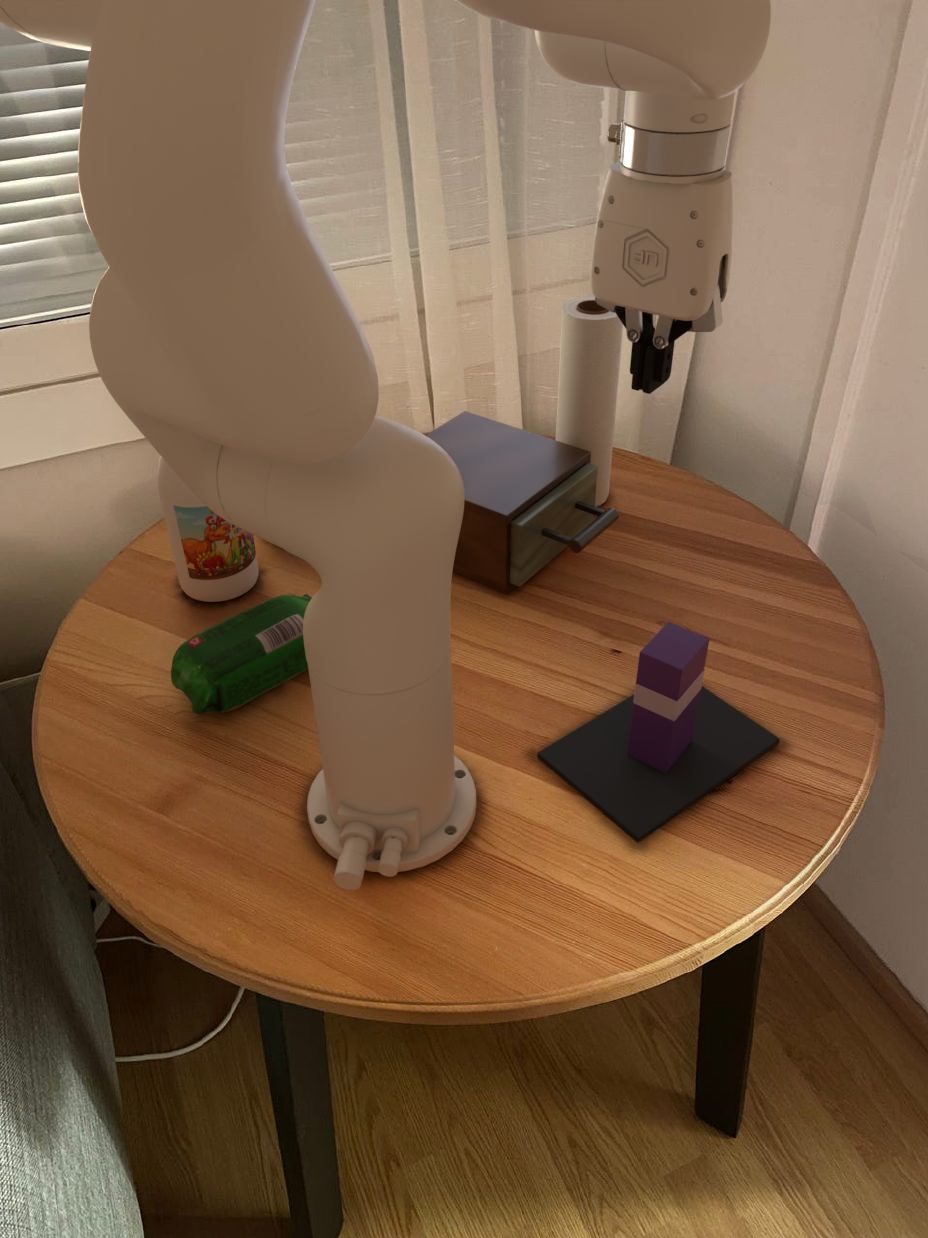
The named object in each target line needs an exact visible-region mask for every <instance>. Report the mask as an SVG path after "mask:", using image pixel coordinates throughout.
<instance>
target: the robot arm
mask: <svg viewBox="0 0 928 1238" xmlns="http://www.w3.org/2000/svg"><path fill="white" fill-rule="evenodd" d="M453 2H455V3H456V4H458V5H461V6H462V7H463V8H465V9H467V11H470V12H472V13H475V14H477V15H481V16H482V17H485V18H488V19H493V20H496V21H499V22H502V23H506V24H509V25H512V26H514V27H519V28H523V29H527V30H532V31H534V38H535V42H536V46H537V49H538V51H539V53H540V56H541V57H542V59H543V61H544V63H545V64H546V65H547V66H548V68H549V69H550V70H552V72H553V73H554V74H556V75H558V76H559V77H561V78H563V79H564V80H565V81H568V82H570V83H574V84H578V85H581V86H586V87H591V88H592V87H593V88H600V89H608V90H617V91H625V97H624V110H623V119H621V122H620V123H611V124H610V126H609V127H608V130H607V141H608V143H609V144H616V146H618V148H619V149H618V150H619V151H618V159H619V158H620V161H618V162H615V163H612V164H610V165H609V168H608V170H607V171H608V172H607V175H606V178H605V182H604V185H603V190H602V194H601V197H600V202H599V207H598V211H597V216H596V222H595V228H594V235H593V241H592V250H591V257H590V268H589V290H590V293H591V294H593V295H594V296H595V301H596V303H597V304H598V305H600V306H602V307H603V308H605V309H607V310H609V311H611V312H613V313H614V312H615V313H616V314H617V316H618V318H619V319H620V321H621V322H622V324H623V328H625V329H626V338H627V340H628V341H629V342H631V350H630V351H631V352H630V364H629V374H630V375H631V376H632V377H631V390H634V391H638V392H639V391H642V392H643V394H648V395H651V394H653V392H655V391H656V390H657V389H659V388H660V387H661V386H663V385H664V384H665V383H666V382H668V380H669V379H670V377H671V375H672V374H671V373H672V367H673V361H674V360H673V359H674V351H675V341H676V340H678V339H680V338H681V337H682V336H683V335H685V334H686V333H687V332H688V333H690V332H691V333H711V332H713V331H715V330H716V329H717V328H719V327H720V326H722V324H723V312H722V302H723V301H725V299H726V296H727V292H728V287H729V283H730V275H731V267H732V258H733V257H732V255H733V245H734V224H735V223H734V222H735V218H734V217H735V216H734V215H735V214H734V213H735V211H734V210H735V207H734V206H735V205H734V203H735V202H734V186H733V185H734V184H733V177H732V172H731V171H729V170H726V169H725V168H726V161H727V154H728V146H729V140H730V139H729V138H730V133H731V122H732V115H733V108H734V100H735V95H736V94H735V93H736V92H737V91H738V90H739V89H740V88H742V87H743V86H744V85H745V84H746V82H748V81H749V79H751V77H752V75H753V74H754V72H755V71H756V69H757V67H758V66H759V64H760V62H761V59H762V57H763V55H764V53H765V49H766V47H767V44H768V39H769V36H770V29H771V15H772V12H771V11H772V9H771V8H772V7H771V0H453ZM315 5H316V0H0V23H2V24H3V25H4V26H6V27H7V28H10V29H11V30H13V31H15V32H17V33H19V34H21V35H23V36H25V37H27V38H29V39H31V40H34V41H37V42H38V41H39V42H41V43H45V44H49V45H52V46H55V47H61V48H67V49H75V50H82V51H89V56H88V63H87V69H86V77H85V78H86V79H85V87H84V93H83V101H82V108H81V115H80V116H81V117H80V125H79V134H78V135H79V136H78V148H77V149H78V150H77V151H78V152H77V183H78V192H79V199H80V203H81V207H82V211H83V214H84V217H85V220H86V223H87V226H88V229H89V230H90V232H91V234H92V237H93V239H94V241H95V243H96V245H97V247H98V249H99V251H100V254H101V255H102V256H103V259H104V260H105V262H106V264H107V265H108V267H107V268H106V270H105V271H104V273H103V275H102V277H101V278H100V280H99V281H98V283H97V286H96V288H95V291H94V293H93V296H92V300H91V304H90V310H89V311H90V312H89V318H88V319H89V320H88V330H89V331H88V332H89V341H90V348H91V353H92V356H93V361H94V363H95V366H96V369H97V371H98V375H99V376H100V379H101V381H102V383H103V385H104V386H105V388H106V389H107V391H108V393H109V394H110V396H111V397H112V398H113V400H114V401H115V403H116V404H117V405H118V407H119V408H120V409H121V410H122V412H123V413H124V415H126V416H127V418H128V419H129V420H130V421H131V423H132V424H133V425H134V426H135V427H136V428H137V430H138V431H139V432H140V433H141V434H142V436H143V437H144V438H145V439H146V441H148V443H149V444H150V445H151V446H152V448H153V449H154V450H155V451H156V452H157V453H158V454H159V455H160V456H162V458H163V459H164V460H165V461H166V462H167V464H168V465H169V466H170V467H171V468H172V469H173V470H174V472H175V473H176V474H177V475H178V476H179V477H180V479H181V480H182V481H183V482H184V483H185V484H186V485H187V487H188V488H189V489H190V490H191V491H192V492H193V493H194V494H195V495H196V496H197V497H198V498H199V499H200V500H201V501H202V502H203V503H204V504H205V505H206V506H207V507H208V508H209V509H210V510H212V511H213V512H214V513H216V514H217V515H218V516H220V517H221V518H223V519H224V520H226V521H228V522H230V523H231V524H233V525H235V526H237V527H239V528H241V529H243V530H245V531H247V532H249V533H251V534H253V536H255V537H258V538H259V539H261V540H263V541H266V542H267V543H270V544H272V545H274V546H277V547H278V548H281V549H283V550H284V551H286V552H287V553H289V554H291V555H293V556H295V557H296V558H300V559H302V560H303V561H305V562H307V564H309V565H311V566H312V567H313V569H314V570H316V572H317V573H318V575H319V577H320V580H321V581H320V588H319V589H318V590H317V591H316V592H315V594H314V595H313V596H311V597H312V599H311V600H310V602H309V604H308V606H307V608H306V611H305V615H304V621H303V639H304V647H305V654H306V660H307V663H308V669H307V670H308V674H309V675H308V676H309V682H310V689H311V695H312V703H313V711H314V716H315V725H316V730H317V737H318V738H317V739H318V745H319V750H320V758H321V765H322V768H321V769H320V771H318V773H317V775H316V776H315V778H314V779H313V781H312V783H311V785H310V787H309V790H308V794H307V800H306V801H307V803H306V812H307V818H308V824H309V826H310V829H311V833H312V835H313V836H314V839H315V840H316V842H317V843H318V845H319V846H320V847H321V848H322V849H323V850H324V851H325V852H326V853H327V854H328V855H329V856H331V857H332V858H334V859H336V860H337V863H336V867H335V871H334V873H333V883H334V884H335V885H336V886H337V887H338V888H340V889H342V890H344V891H350V892H351V891H356V890H358V889H360V888H361V887H362V883H363V879H364V874H365V871H367V872H371V873H379V874H380V875H382V876H383V877H387V878H391V877H395V876H397V875H398V873H399V872H400V873H401V872H409V871H411V870H415V869H419V868H423V867H426V866H427V865H430V864H432V863H434V862H437V861H439V860H440V859H442V858H443V857H445V856H446V855H448V854H449V853H451V852H452V851H453V850H455V848H456V847H457V846H459V844H461V843H462V842H463V840H464V839H465V837H466V836H467V834H468V833H469V832H470V830H471V827H472V826H473V823H474V821H475V818H476V812H477V789H476V785H475V781H474V778H473V776H472V775H471V772H470V770H469V769H468V768H467V766H466V765H465V764H464V763H463V761H462V760H461V759H460V758H459V757H457V756H456V755H455V735H454V734H455V733H454V731H455V729H454V703H453V702H454V701H453V698H454V697H453V696H454V695H453V664H452V663H453V662H452V636H451V635H452V634H451V633H452V632H451V631H452V629H451V597H452V596H451V595H452V594H451V593H452V578H453V564H454V558H455V552H456V548H457V543H458V538H459V533H460V529H461V524H462V518H463V512H464V499H465V493H464V485H463V480H462V477H461V474H460V472H459V470H458V468H457V466H456V464H455V463H454V461H453V460H452V458H451V457H450V456H449V455H448V453H447V452H446V451H445V450H444V449H443V448H442V447H441V446H439V445H438V444H437V443H436V442H434V441H433V440H432V439H430V438H429V437H427V436H425V435H426V434H423V433H422V432H420V431H418V430H417V429H414V428H413V427H410V426H408V425H406V424H403V423H401V422H399V421H396V420H393V419H390V418H388V417H386V416H382V415H379V414H377V410H378V405H379V396H380V395H379V389H380V388H379V387H380V386H379V376H378V371H377V366H376V362H375V357H374V355H373V352H372V350H371V347H370V344H369V342H368V339H367V337H366V334H365V332H364V330H363V328H362V326H361V323H360V322H359V320H358V317H357V315H356V314H355V312H354V310H353V308H352V305H351V304H350V301H349V300H348V298H347V296H346V294H345V292H344V290H343V288H342V286H341V284H340V282H339V280H338V278H337V276H336V274H335V272H334V270H333V268H332V267H331V265H330V262H329V261H328V259H327V257H326V254H325V252H324V250H323V249H322V247H321V245H320V242H319V241H318V239H317V237H316V235H315V233H314V231H313V229H312V227H311V225H310V223H309V221H308V219H307V217H306V215H305V212H304V210H303V207H302V205H301V203H300V200H299V197H298V196H297V195H298V194H297V192H296V190H295V188H294V185H293V183H292V179H291V177H290V173H289V169H288V166H287V158H286V148H285V139H286V121H287V115H288V109H289V102H290V96H291V91H292V86H293V82H294V79H295V74H296V70H297V66H298V62H299V58H300V55H301V51H302V49H303V48H302V47H303V44H304V41H305V37H306V34H307V31H308V28H309V24H310V22H311V19H312V15H313V12H314V8H315ZM657 316H658V318H657Z"/></svg>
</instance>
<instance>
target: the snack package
mask: <svg viewBox="0 0 928 1238" xmlns="http://www.w3.org/2000/svg"><path fill="white" fill-rule="evenodd" d="M312 597H313V596H311V595H309V594H308V593H305V594H304V595H302V596H300V595H296V594H283V595H278V596H274V597H272V598H269V599H266V600H264V601H263V602H259V603H258V604H256V605H254V606H252V607H250V608H248V609H246V610H244V611H242V612H239V613H237V614H235V615H233V616H231V617H229V618H227V619H224V620H223V621H221V622H219V623H216V624H215V625H213V626H210V627H208V628H206V629H204V630H202V631H201V632H198V633H197V634H195V635H192V636H191V637H189V638H188V639H186V640H185V641H184V642H183V643H182V644H180V645H179V647H177V649H176V651H175V653H174V655H173V657H172V662H171V667H170V680H171V684H172V686H174V687H175V689H177V690H179V691H180V692H182V694H184V695H185V696H186V698H188V700H189V702H190V703H191V710H192V712H193V713H194V715H196V716H197V715H201V714H204V713H215V714H216V713H217V714H223V713H229V712H232V711H235V710H237V709H239V708H241V707H243V706H245V705H246V704H248V703H249V702H251V701H253V700H255V699H256V698H258V697H259V696H261V695H263V694H264V693H265V694H266V693H267V692H268V691H271V690H272V689H275V688H276V687H278V686H280V685H282V684H284V683H286V682H288V681H289V680H291V679H293V678H296V677H297V676H299V675H300V674H302V673H303V672H305V671H307V670H309V669H308V663H307V660H306V654H305V647H304V639H303V621H304V615H305V611H306V608H307V606H308V604H309V602H310V600H311V599H312Z"/></svg>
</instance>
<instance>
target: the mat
mask: <svg viewBox="0 0 928 1238" xmlns="http://www.w3.org/2000/svg"><path fill="white" fill-rule="evenodd" d="M633 700H634V694H632V695H631V696H629V697H627V698H626V699H624V700H622V701H620V702H619V703H617V704H616V705H614V706H613V707H611V708H609V709H607V710H606V711H603V712H602V713H601V714H599V715H597V716H596V717H594V718H592V719H591V720H589V721H588V722H585V723H584V724H582V725H581V726H579V727H578V728H576V729H574V730H572V731H571V732H569V733H568V734H566V735H564V736H563V737H561V738H559V739H557V740H556V741H555V742H552V743H551V744H550V745H547V746H546V747H545V748H543V749H541V750H540V751H538V752H537V753H536V754H537V759H538V760H539V761H540V762H542V763H543V764H544V765H545V766H547V767H548V768H549V769H550V770H551V771H552V772H554V773H555V774H556V775H557V776H558V777H559V778H561V779H562V780H563V781H564V782H565V783H566V784H568V785H569V786H570V787H571V788H572V789H574V790H575V791H576V792H577V793H578V794H580V795H581V796H582V797H583V798H584V799H585V800H587V801H588V802H589V803H590V804H592V806H593V807H595V808H596V809H597V810H598V811H600V812H601V813H602V814H603V815H605V817H607V818H608V819H609V820H610V821H612V823H614V824H615V825H616V826H617V827H618V828H620V829H621V830H622V831H623V832H625V834H627V835H628V836H629V837H631V838H632V840H634V841H635V842H636V843H638V844H639V843H641V842H642V841H644V840H645V839H647V838H648V837H649V836H650V835H652V834H654V832H657V831H658V830H659V829H660V828H662V827H664V826H665V825H666V824H668V823H669V822H671V821H672V820H673V819H674V818H676V817H677V816H679V815H680V814H682V813H683V812H685V811H686V810H687V809H688V808H690V807H691V806H693V805H694V804H696V803H697V802H699V801H700V800H701V799H703V798H704V797H706V796H707V795H708V794H710V793H711V792H713V791H714V790H715V789H717V788H718V787H720V786H721V785H722V784H724V783H725V782H727V781H728V780H729V779H731V778H732V777H734V776H735V775H737V774H738V773H739V772H741V771H742V770H744V769H745V768H747V767H748V766H749V765H751V764H752V763H753V762H755V761H756V760H758V759H760V758H761V757H762V756H764V755H765V754H766V753H768V752H769V751H771V750H772V749H773V748H775V747H776V746H777V745H779V744H780V737H778V736H776V735H775V734H774V733H772V732H771V731H769V730H768V729H766V728H765V727H764V726H762V725H760V724H758V722H756V721H754V720H753V719H751V718H750V717H749V716H747V715H746V714H744V713H743V712H742V711H740V710H738V709H737V708H735V707H734V706H732V704H730V703H727V702H726V701H725V700H724V699H722V698H720V697H719V696H717V695H716V694H715V693H713V692H712V691H710V690H708V689H707V688H706V687H704V686H703V685H702V688H701V691H700V697H699V702H698V708H697V714H696V719H695V725H694V731H693V737H692V741H691V742H690V743H689V745H688V746H687V747H686V748H685V750H684V751H683V752H682V754H681V755H680V756H679V757H678V759H677V760H676V761H675V762H674V764H673V765H672V766H671V767H670V769H669V770H668V771H667V772H666V773H664V772H662V771H660V770H658V769H656V768H654V767H652V766H650V765H648V764H646V763H643V762H641V761H639V760H637V759H635V758H633V757H631V756H629V755H627V753H628V745H629V736H630V728H631V720H632V712H633Z"/></svg>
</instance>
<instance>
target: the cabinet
mask: <svg viewBox="0 0 928 1238" xmlns="http://www.w3.org/2000/svg"><path fill="white" fill-rule="evenodd" d="M424 435H425V436H427V437H429V438H430V439H432V440H433V441H434V442H436V443H437V444H438V445H439V446H441V447H442V448H443V449H444V450H445V451H446V452H447V453H448V455H449V456H450V457H451V458H452V460H453V461H454V463H455V464H456V466H457V468H458V470H459V472H460V474H461V477H462V480H463V485H464V493H465V499H464V512H463V518H462V524H461V529H460V533H459V538H458V543H457V548H456V552H455V558H454V564H453V571H452V573H453V572H454V573H456V574H458V575H461V576H463V577H465V578H468V579H470V580H472V581H475V582H478V583H480V584H482V585H484V586H487V587H488V588H491V589H494V590H496V591H499V592H501V593H503V594H507V593H508V592H510V591H511V590H512V589H513V588H514V587H516V585H514V584H512V583H510V540H511V522H512V519H514V518H515V517H516V516H518V515H519V514H520V513H522V512H523V511H524V510H525V509H527V508H528V507H529V506H531V505H532V504H533V503H535V502H536V501H537V500H538V499H540V498H541V497H542V496H544V495H545V494H546V493H548V492H549V491H550V490H551V489H553V488H554V487H555V486H557V485H558V484H559V483H561V482H562V481H563V480H564V479H566V478H567V477H568V476H570V475H573V474H574V473H575V472H577V471H578V470H579V469H580V468H582V467H583V466H584V465H586V464H587V463H590V464H591V460H590V459H591V452H590V451H587V450H584V449H581V448H578V447H575V446H572V445H568V444H565V443H562V442H559V441H556V439H553V438H550V437H547V436H543V435H542V434H541V435H540V434H538V433H534V432H531V431H528V430H526V429H522V428H519V427H515V426H513V425H509V424H506V423H503V422H500V421H497V420H495V419H491V418H489V417H485V416H483V415H479V414H476V413H473V412H469V411H466V410H464V411H463V412H461V413H460V414H457V415H456V416H454V417H453V418H451V419H450V420H448V421H447V422H445V423H443V424H442V425H440V426H438V427H436V428H435V429H433V430H432V431H430V432H428V433H427V434H424Z"/></svg>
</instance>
